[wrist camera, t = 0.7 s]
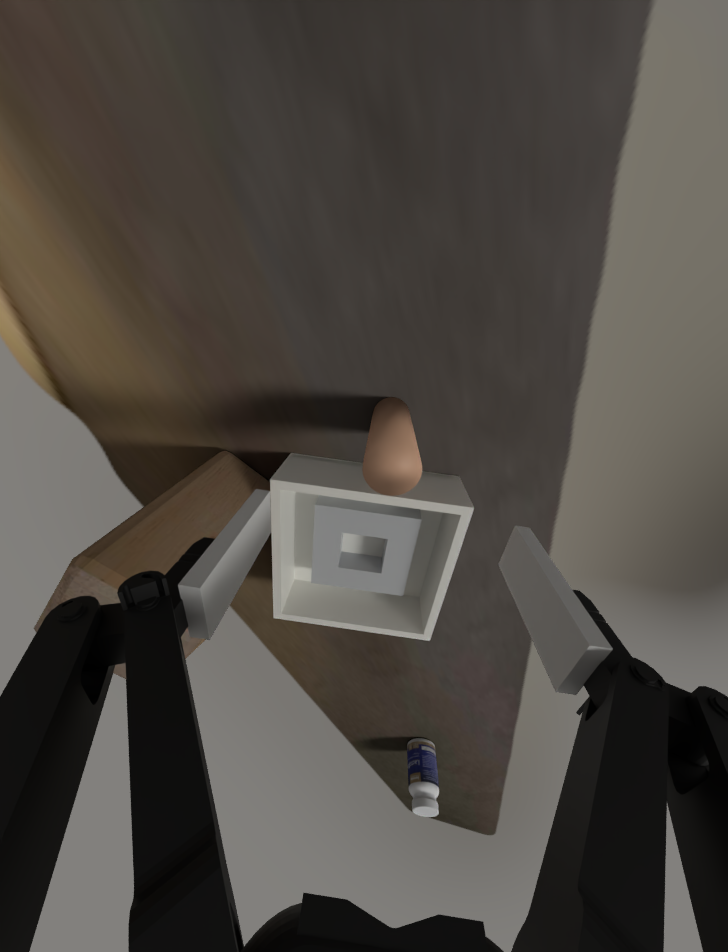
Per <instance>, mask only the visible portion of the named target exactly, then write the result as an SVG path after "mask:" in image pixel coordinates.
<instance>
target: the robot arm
mask: <svg viewBox="0 0 728 952" xmlns="http://www.w3.org/2000/svg"><path fill="white" fill-rule="evenodd" d="M270 533H271V507H270V491H267V490H260V489H255V491H254V492H253V493H252V494H251V496H250V497H249V498H248V499H247V500H246V502H245V503H244V504H243V505H242V507H241V508H240V509H239V510H238V511H237V513H236V514H235V515H234V516H233V518H232V519H231V520H230V521H229V523H228V524H227V525H226V526H225V527H224V529H223V530H222V531H221V532H220V534H219V535H218V536H217V537H216V539H214V538H207V537H203V538H202V539H200V540H198V541H197V542H195V543H193V544H192V545H191V546H190V548H189V549H188V550H187V551H186V552H185V554H183V555H182V556H181V558H180V559H179V561H177V562H176V563H175V564H174V565H173V566H172V568H171V569H170V570H169V571H168V572H167V573H166V574H165V575H164V574H163V573H161V572H159V571H145V572H140V573H138V574H136V575H133V576H131V577H130V578H128V579H127V580H125V581H124V582H123V583H122V584H121V585H120V587H119V589H118V592H117V594H118V597H119V600H120V603H114V604H106V605H100V604H99V601H98V600H97V599H96V597H92V596H79V597H76V598H72V599H69V600H67V601H65V602H63V603H61V604H59V605H58V606H56V607H55V608H54V609H52V610H51V611H50V612H49V614H48V615H47V616H46V617H45V619H44V621H43V622H42V624H41V626H40V628H39V629H38V631H37V633H36V635H35V636H34V638H33V640H32V642H31V643H30V645H29V647H28V649H27V650H26V652H25V654H24V656H23V657H22V659H21V661H20V663H19V664H18V666H17V668H16V670H15V671H14V673H13V675H12V677H11V679H10V680H9V682H8V684H7V686H6V687H5V689H4V691H3V693H2V695H1V696H0V952H29V951H30V947H31V944H32V941H33V937H34V934H35V930H36V927H37V924H38V921H39V917H40V914H41V911H42V907H43V904H44V901H45V897H46V894H47V891H48V887H49V884H50V881H51V878H52V874H53V871H54V868H55V864H56V861H57V858H58V854H59V851H60V847H61V844H62V841H63V838H64V834H65V831H66V828H67V824H68V821H69V818H70V814H71V811H72V808H73V804H74V801H75V798H76V794H77V791H78V788H79V784H80V781H81V778H82V774H83V771H84V768H85V765H86V761H87V758H88V754H89V751H90V748H91V745H92V741H93V738H94V735H95V731H96V728H97V725H98V721H99V718H100V715H101V711H102V708H103V705H104V701H105V698H106V695H107V691H108V688H109V685H110V682H111V678H112V675H113V672H114V668H115V665H117V664H123V663H126V685H127V686H126V688H127V713H128V737H129V738H128V739H129V763H130V764H129V765H130V790H131V815H132V841H133V867H134V899H133V903H132V906H131V910H130V917H129V952H503V951H502V950H501V949H500V948H499V947H498V946H497V945H496V944H495V943H493V942H492V941H491V940H490V939H488V938H487V937H485V930H484V924H483V922H481V921H475V920H469V919H462V918H456V917H451V916H444V915H436V916H433V917H430V918H427V919H424V920H421V921H418V922H415V923H412V924H409V925H405V926H402V927H399V928H391V927H389V926H387V925H385V924H384V923H382V922H381V921H379V920H378V919H376V918H375V917H373V916H371V915H370V914H368V913H367V912H365V911H364V910H362V909H361V908H359V907H357V906H356V905H354V904H353V903H351V902H350V901H348V900H345V899H339V898H332V897H327V896H321V895H314V894H308V893H304V894H303V899H302V903H300V904H297V905H294V906H290V907H289V908H287V909H285V910H283V911H281V912H279V913H278V914H277V915H275V916H274V917H272V918H271V919H270V920H268V921H267V922H266V923H265V924H264V925H263V926H262V927H261V928H260V929H259V930H258V931H257V932H256V933H255V934H254V935H253V937H252V938H251V939H250V940H249V941H248V943H247V944H246V945H245V946H244V945H243V940H242V935H241V930H240V925H239V920H238V916H237V910H236V905H235V900H234V896H233V891H232V887H231V882H230V878H229V874H228V869H227V864H226V860H225V854H224V849H223V844H222V839H221V834H220V829H219V825H218V819H217V814H216V810H215V804H214V799H213V794H212V789H211V785H210V779H209V774H208V769H207V765H206V760H205V755H204V749H203V745H202V740H201V734H200V729H199V725H198V720H197V715H196V710H195V705H194V700H193V695H192V690H191V685H190V680H189V675H188V670H187V665H186V660H185V655H184V650H183V645H182V640H181V636H182V635H183V633H184V632H185V630H186V629H187V627H188V631H189V636H190V637H194V638H200V639H207V640H210V638H211V637H212V635H213V633H214V631H215V630H216V628H217V626H218V624H219V623H220V621H221V619H222V617H223V616H224V614H225V612H226V610H227V609H228V607H229V605H230V603H231V602H232V600H233V598H234V596H235V595H236V593H237V591H238V589H239V588H240V586H241V584H242V582H243V581H244V579H245V577H246V575H247V574H248V572H249V570H250V568H251V567H252V565H253V563H254V561H255V560H256V558H257V556H258V554H259V553H260V551H261V549H262V547H263V546H264V544H265V542H266V540H267V539H268V537H269V535H270ZM498 565H499V568H500V570H501V572H502V574H503V576H504V579H505V581H506V583H507V585H508V587H509V590H510V592H511V594H512V596H513V599H514V601H515V603H516V605H517V607H518V610H519V612H520V614H521V616H522V618H523V621H524V623H525V625H526V627H527V629H528V632H529V634H530V636H531V638H532V641H533V642H534V645H535V647H536V649H537V652H538V654H539V656H540V658H541V660H542V663H543V665H544V667H545V669H546V671H547V674H548V676H549V678H550V680H551V683H552V685H553V687H554V689H555V691H556V692H561V693H568V694H574V695H576V694H577V693H578V692H579V691H580V689H581V688H582V687H583V686H585V688H586V690H587V692H588V694H589V698H588V699H587V700H586V701H585V703H584V704H583V705H582V706H581V707H580V708H579V710H578V711H577V714H578V715H580V714H581V713H582V712H583V713H582V717H581V720H580V724H579V728H578V731H577V735H576V739H575V743H574V746H573V750H572V754H571V757H570V761H569V765H568V769H567V772H566V776H565V780H564V784H563V787H562V791H561V795H560V799H559V802H558V806H557V810H556V814H555V817H554V821H553V825H552V828H551V832H550V836H549V839H548V844H547V847H546V851H545V854H544V858H543V863H542V866H541V869H540V873H539V877H538V880H537V885H536V888H535V892H534V896H533V899H532V903H531V907H530V910H529V913H528V916H527V918H526V921H525V923H524V924H523V926H522V928H521V930H520V931H519V933H518V935H517V938H516V940H515V943H514V945H513V948H512V951H511V952H663V948H664V947H663V946H664V902H665V856H666V811H667V807H666V806H667V803H668V807H669V811H670V816H671V820H672V824H673V828H674V832H675V836H676V841H677V845H678V849H679V853H680V857H681V861H682V865H683V870H684V874H685V878H686V882H687V886H688V890H689V894H690V899H691V902H692V907H693V911H694V915H695V919H696V924H697V928H698V932H699V936H700V940H701V944H702V948H703V952H728V697H727V696H725V695H724V694H722V693H720V692H718V691H717V690H714V689H712V688H709V687H706V686H699V687H698V688H697V689H696V690H694V691H693V692H692V693H690V692H687V691H685V690H682V689H680V688H678V687H675V686H673V685H670V684H668V683H665V681H664V680H663V678H662V677H661V676H660V675H659V674H658V673H657V672H656V671H655V670H654V669H653V668H652V667H650V666H649V665H647V664H646V663H644V662H642V661H640V660H638V659H636V658H633V657H632V656H631V655H630V654H629V652H628V651H627V650H626V648H625V647H624V645H623V644H622V643H621V641H620V640H619V639H618V637H617V636H616V635H615V633H614V632H613V630H612V629H611V628H610V626H609V625H608V624H607V623H606V621H605V619H604V618H603V617H602V615H601V614H599V611H598V610H597V608H596V607H595V606H594V604H593V603H592V602H591V600H589V599H588V598H587V597H586V596H585V595H584V594H583V593H581V592H580V591H578V590H572V589H571V587H570V586H569V584H568V583H567V582H566V580H565V579H564V577H563V576H562V574H561V573H560V571H559V570H558V569H557V567H556V566H555V564H554V563H553V561H552V560H551V558H550V557H549V555H548V554H547V552H546V551H545V550H544V548H543V547H542V545H541V544H540V542H539V541H538V539H537V538H536V536H535V535H534V534H533V532H532V531H531V529H530V528H528V527H520V526H515V527H514V529H513V532H512V534H511V536H510V539H509V541H508V543H507V546H506V548H505V550H504V553H503V555H502V557H501V560H500V562H499V564H498Z"/></svg>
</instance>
